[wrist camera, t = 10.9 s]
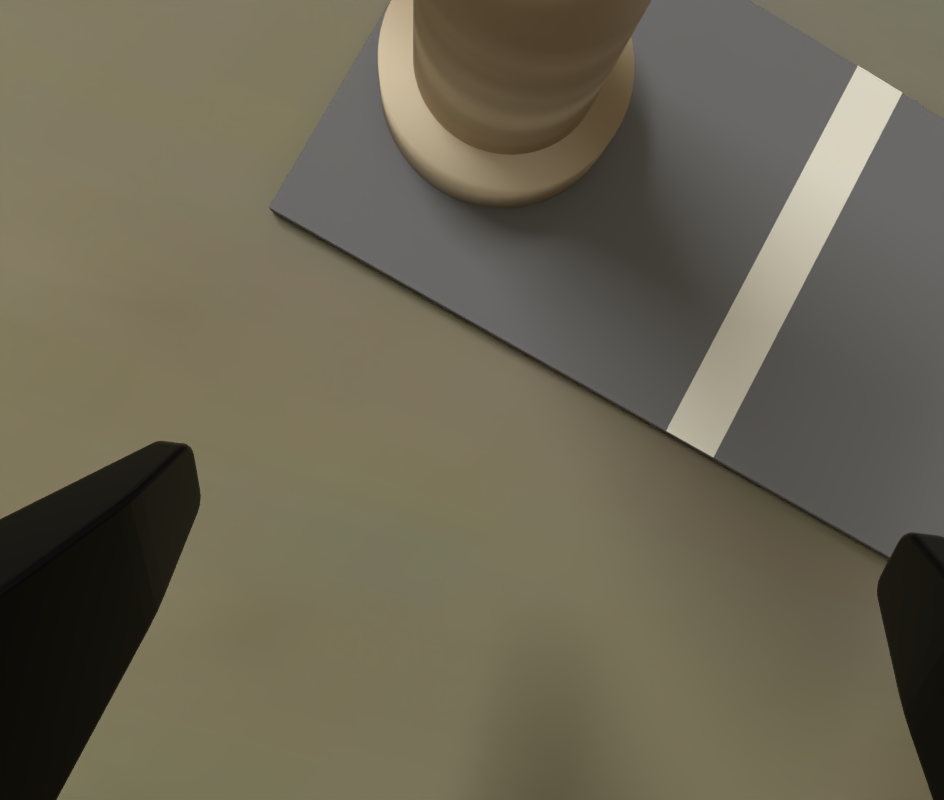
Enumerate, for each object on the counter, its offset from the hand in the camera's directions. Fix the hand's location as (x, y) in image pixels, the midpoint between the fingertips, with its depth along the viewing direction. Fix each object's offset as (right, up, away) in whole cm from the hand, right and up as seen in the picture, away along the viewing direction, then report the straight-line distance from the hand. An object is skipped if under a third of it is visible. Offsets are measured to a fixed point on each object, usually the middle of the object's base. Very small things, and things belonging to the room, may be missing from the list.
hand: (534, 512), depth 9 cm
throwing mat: (+7, +5, +10) cm, 13 cm away
